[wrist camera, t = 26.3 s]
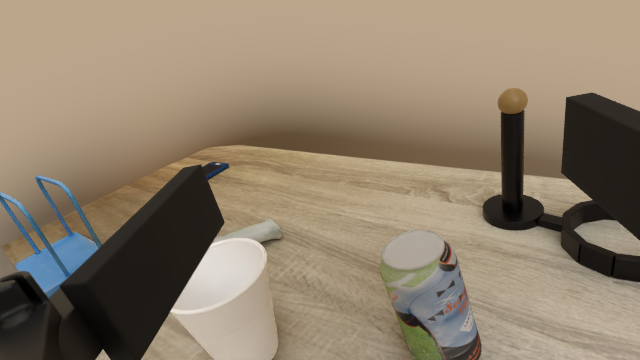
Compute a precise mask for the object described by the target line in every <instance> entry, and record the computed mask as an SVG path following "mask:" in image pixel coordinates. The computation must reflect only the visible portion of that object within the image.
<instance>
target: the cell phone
mask: <svg viewBox="0 0 640 360" xmlns="http://www.w3.org/2000/svg"><path fill="white" fill-rule="evenodd" d="M228 167H229V164H227V163H219V162H211V163H209V164H207V165H205V166H203V167H202V168H203V170H204V173H205V175H206V178H207V179H209V178H211V177H212V176H214V175H216V174H217V173H219V172H221V171H223V170H224V169H226V168H228Z"/></svg>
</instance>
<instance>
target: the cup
mask: <svg viewBox="0 0 640 360" xmlns="http://www.w3.org/2000/svg"><path fill="white" fill-rule="evenodd" d="M266 263H267V253H266V250H265V248H264V247H263V246H262V245H261V244H260V243H259V242H257V241H255V240H252V239H248V238H232V239H226V240H221V241H218V242H215V243H212V244H211V246H210V247H209V249H208V250H207V252H206V254H205V255H204V257H203V259H202V260H201V262H200V264H199V265H198V267H197V268H196V270H195V272H194V273H193V275H192V277H191V278H190V280H189V282H188V283H187V285H186V286H185V288H184V290H183V291H182V293H181V295H180V296H179V298H178V300H177V301H176V303H175V304H174V306H173V308H172V309H171V311H170V313H172V314H173V315H174V316H175V317H176V318H177V319H178V320H179V322H180V323H181V324H182V325H183V326H184V327H185V328H186V329H187V331H188V332H189V333H190V334H191V335H192V336H193V337H194V338H195V339H196V340H197V342H198V343H199V344H200V345H201V346H202V347H203V348H204V349H205V351H206V352H207V353H208V354H209V355H210V356H211V357H212V358H213V360H272V359H273V357H274V356H275V354H276V352H277V349H278V344H279V343H278V334H277V327H276V323H275V316H274V310H273V305H272V298H271V293H270V284H269V278H268V272H267V266H266Z"/></svg>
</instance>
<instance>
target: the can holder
mask: <svg viewBox="0 0 640 360" xmlns="http://www.w3.org/2000/svg"><path fill="white" fill-rule="evenodd" d="M527 102H528V99H527V95H526V93H525V92H523V91H522V90H521V89H517V88H511V89H507V90H506V91H504V92H503V93H502V94H501V95H500V97H499V99H498V107H499V109H500V110H501V111H502V112H501V160H502V162H501V165H502V195H497V196H494V197H491V198H490V199H488V200H487V201H486V202H485V203H484V205H483V216H484V218H485V220H486V221H487V222H488V223H490V224H491V225H493V226H495V227H498V228H502V229H507V230H525V229H530V228H533V227H535V226H537V225H538V226H541V227H545V228H549V229H552V230H556V231H559V232H561V245H562V247H563V248H564V249H565V250H566V251H567V252H568V253H569V254H570V255H571V256H572V257H573V258H574V259H575V260H576V261H577V262H580V263H579V264H581V265H583V266H586V267H588V268H590V269H592V270H595V271H597V272H599V273H602V274H604V275H606V276H608V277H611V276H612V277H613V278H617V279H624V280H630V281H637V282H640V256H633V255H625V254H617V253H614V252H612V251H609V250H607V249H604V248H601V247H599V246H596V245H594V244H591V243H588V242H586V241H585V240H584V239H583V238H582V237H581V236H580V235H578V234H577V233H576V232H575V231H574V229H575V228H576V227H578V226H579V225H580V224H582V223H586V222H592V221H597V220H603V219H610V220H616V219H615V218H613V217H612V216H611V215H610V214H609V213H608V212H606V211H605V210H604V209H603V208H602V207H601V206H599V205H598V204H597V203H596V202H595V201H594V200H591V201H586V202H580V203H579V204H578V203H577V204H576V205H575V206H573V207H572V208H570V209H569V210H567V211H566V212H564V214H563V217H562V218H561V217H558V216H554V215H550V214H546V213H544V207H543V205H542V204H541V203H540V202H539V201H538V200H536V199H534V198H532V197H530V196H526V195H523V170H524V166H523V165H524V108H525V107H526V105H527Z"/></svg>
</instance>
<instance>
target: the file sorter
mask: <svg viewBox="0 0 640 360" xmlns="http://www.w3.org/2000/svg"><path fill="white" fill-rule="evenodd" d="M41 180H44V181H46V182H50V183H53V184H55V185H58V186H60V187H61V188H62V189H63V190H64V191H65V192H66V193H67V195H68V196H69V198H70V200H71V201H72V203H73V205H74V206H75V208H76V210H77V212H78V213H79V215H80V217H81V219H82V220H83V222H84V224H85V226H86V227H87V229H88V231H89V233H90V234H91V236H92V238H93V240H94V241H95V242H93V241H92V240H90V239H88V238H86V237H84V236H82V235H80V234H78V233H77V232H74V233H72V232H71V230H70V229H69V227H68V225H67V224H66V222H65V221H64V219H63V217H62V216H61V214H60V212H59V211H58V209H57V207H56V206H55V204H54V203H53V201H52V199H51V198H50V196H49V195H48V193H47V191H46V190H45V188H44V186H43V184H42V182H41ZM36 181H37V183H38V185H39V187H40V189H41V190H42V192H43V194H44V195H45V197H46V198H47V200H48V202H49V203H50V205H51V206H52V208H53V210H54V211H55V213H56V214H57V216H58V218H59V220H60V221H61V223H62V224H63V226H64V228H65V229H66V231H67V233H68V234H69V235H68V236H66V237H65V238H63V239H61V240H59V241H57V242H55V243H53V244H52V245H50V244H49V242H48V241H47V239H46V238H45V236H44V234H43V233H42V231H41V230H40V228H39V227H38V225H37V224H36V222H35V221H34V220H33V218H32V217H31V215H30V214H29V213H28V211H27V210H26V209H25V207H24V206H23V205H22V204H21V203H20V202H19V201H18V200H16V199H14V198H12V197H10V196H8V195H6V194H4V193H2V192H0V201H1V203H2V205H3V206H4V208H5V209H6V210H7V212H8V213H9V215H10V216H11V218H12V219H13V221H14V222H15V223H16V225H17V226H18V228H19V229H20V230H21V232H22V233H23V235H24V236H25V238H26V239H27V240H28V242H29V243H30V245H31V246H32V247H33V249H34V250H35V252H36V253H35V254H33V255H31V256H29V257H27V258H25V259H23V260H22V261H20V262H18V263H16V264H14V265H15V267H16V268H17V269H18V271H19V272H20V271H27V272H30V274H31V275H32V276H33V278H34V279H35V280H36V282H37V283H38V284H39V286H40V287H41V289H42V290H43V291H44V293H45V294H46V295H47V297H48V298H49V297H50V296H51V295H52V294H53V293H54V292H55V291H57V290H58V289H59V288H60V287H59V286H60V285H61V284H62V283H63V282H64V281H65V280H66V279H67V278H68V277H69V276H70V275H71V274H72V273H73V272H75V271H76V270H77V269H78V268H79V267H80V266H81V265H82V264H83V263H84V262H85V261H86V260H87V259H88V258H89V257H90V256H91V255H92V254H93V253H95V252H96V251H97V250H98V249H99V248H100V247H101V246H102V245H101V243H100V241H99V240H98V238H97V236H96V234H95V233H94V231H93V229H92V227H91V225H90V224H89V222H88V220H87V218H86V217H85V215H84V213H83V211H82V210H81V208H80V206H79V205H78V203H77V201H76V199H75V198H74V196H73V195H72V193H71V192H70V190H69V189H68V188H67V187H66V186H65V185H64V184H63V183H62V182H59V181H57V180H54V179H50V178H47V177H44V176H40V175H38V176H36ZM3 198H4V199H6V200H8V201H10V202H12V203H14V204H15V205H17V206H18V208H19V209H20V210H21V211H22V212H23V214H24V215H25V216H26V218H27V219H28V221H29V222H30V224H31V225H32V226H33V228H34V230H35V231H36V233H37V234H38V236H39V237H40V238H41V240H42V241H43V243H44V244H45V246H46V248H44V249H42V250H40V251H39V249H38V248H37V247H36V245H35V244H34V242H33V241H32V239H31V238H30V236H29V235H28V234H27V232H26V231H25V229H24V228H23V226H22V225H21V224H20V222H19V221H18V219H17V218H16V216H15V215H14V213H13V212H12V211H11V209H10V208H9V206H8V205H7V203H6V202H5V200H4V199H3Z"/></svg>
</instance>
